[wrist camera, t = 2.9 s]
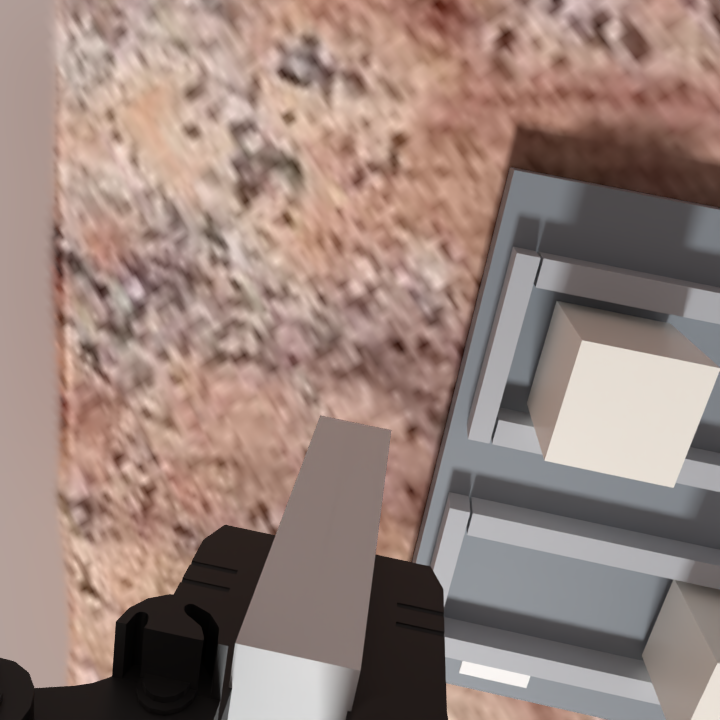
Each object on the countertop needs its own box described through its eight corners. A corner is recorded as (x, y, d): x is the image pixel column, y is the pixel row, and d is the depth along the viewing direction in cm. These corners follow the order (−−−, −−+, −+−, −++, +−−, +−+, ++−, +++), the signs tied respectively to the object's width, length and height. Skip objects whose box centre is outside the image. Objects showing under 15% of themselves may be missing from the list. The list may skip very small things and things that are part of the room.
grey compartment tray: (509, 167, 24) (518, 173, 22) (995, 260, 24) (1062, 278, 21) (391, 645, 32) (387, 691, 29) (754, 727, 31) (782, 780, 29)
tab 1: (556, 300, 24) (581, 340, 20) (670, 323, 24) (720, 368, 20) (526, 403, 25) (544, 460, 21) (634, 425, 25) (673, 487, 21)
